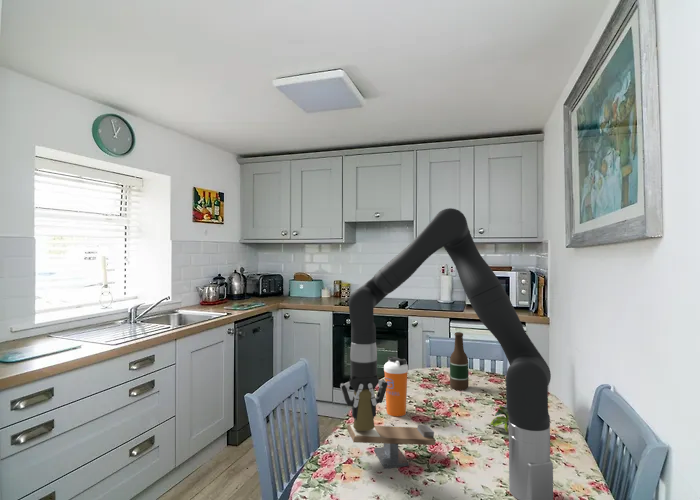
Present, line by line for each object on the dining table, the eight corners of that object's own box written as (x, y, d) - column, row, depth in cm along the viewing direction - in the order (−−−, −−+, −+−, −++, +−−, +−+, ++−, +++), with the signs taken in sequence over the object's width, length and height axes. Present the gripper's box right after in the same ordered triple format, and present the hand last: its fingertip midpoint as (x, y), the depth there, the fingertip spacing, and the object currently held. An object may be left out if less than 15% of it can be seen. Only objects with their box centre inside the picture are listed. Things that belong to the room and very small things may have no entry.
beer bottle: (449, 389, 174) (449, 334, 174) (450, 384, 181) (450, 330, 181) (468, 391, 171) (468, 335, 172) (468, 385, 179) (468, 331, 179)
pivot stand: (408, 465, 112) (408, 445, 112) (384, 468, 110) (384, 448, 110) (396, 448, 122) (396, 430, 122) (374, 451, 120) (374, 432, 120)
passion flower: (516, 444, 135) (539, 417, 134) (512, 452, 126) (537, 423, 125) (488, 418, 141) (510, 392, 139) (482, 424, 132) (505, 396, 130)
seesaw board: (423, 432, 122) (425, 423, 123) (435, 445, 115) (436, 434, 115) (347, 429, 117) (348, 419, 117) (353, 442, 109) (355, 431, 110)
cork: (372, 431, 111) (372, 391, 111) (351, 429, 112) (351, 390, 112) (375, 422, 117) (375, 384, 117) (355, 421, 118) (355, 383, 118)
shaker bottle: (392, 406, 155) (392, 354, 155) (413, 412, 149) (412, 358, 150) (379, 413, 148) (379, 359, 148) (400, 419, 143) (399, 363, 143)
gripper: (341, 363, 109) (342, 426, 109) (391, 359, 112) (392, 421, 112) (336, 356, 116) (336, 415, 116) (383, 353, 120) (384, 411, 119)
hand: (364, 418), depth 114 cm, fingers closed on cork, 4 cm apart
